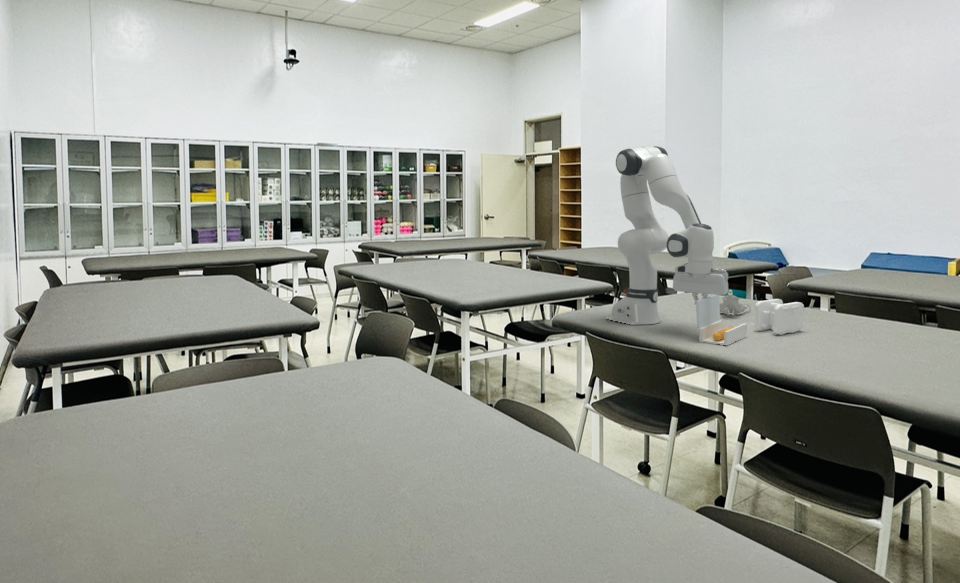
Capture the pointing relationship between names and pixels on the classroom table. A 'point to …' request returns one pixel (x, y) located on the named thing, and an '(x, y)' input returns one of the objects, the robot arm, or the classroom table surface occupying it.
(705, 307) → the cover
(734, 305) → the skeletal model
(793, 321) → the cable organizer
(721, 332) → the rod
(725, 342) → the duct
